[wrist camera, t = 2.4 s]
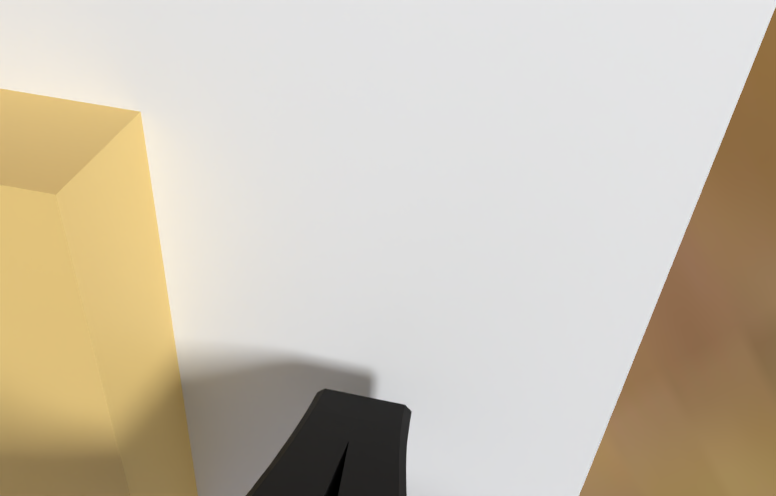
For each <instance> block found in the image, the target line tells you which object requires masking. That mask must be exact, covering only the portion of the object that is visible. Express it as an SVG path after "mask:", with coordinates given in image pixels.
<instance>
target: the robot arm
mask: <svg viewBox="0 0 776 496" xmlns="http://www.w3.org/2000/svg"><path fill="white" fill-rule="evenodd" d="M411 413H412V411H411V410H410V409H409V408H408V407H407V406H406V405H404V404H399V403H394V402H389V401H385V400H380V399H375V398H370V397H365V396H360V395H355V394H350V393H345V392H340V391H335V390H331V389H326V388H325V389H323V390H320V391H318V392H317V393H316V395H315V397H314V399H313V401H312V402H311V404H310V406H309V407H308V409H307V411H306V412H305V414H304V416H303V417H302V419H301V420H300V422H299V423H298V425H297V426H296V428H295V430H294V431H293V433H292V434H291V435H290V437H289V438H288V440H287V441H286V443H285V444H284V446H283V447H282V448H281V450H280V451H279V453H278V454H277V455H276V457H275V458H274V459H273V461H272V462H271V464H270V465H269V466H268V468H267V469H266V470H265V472H264V473H263V474H262V475H261V477H260V478H259V479H258V481H257V482H256V483H255V484H254V486H253V487H252V488H251V490H250V491H249V492H248V493H247V495H246V496H407V490H406V454H407V440H408V433H409V426H410V419H411Z"/></svg>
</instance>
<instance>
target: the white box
mask: <svg viewBox="0 0 776 496" xmlns="http://www.w3.org/2000/svg"><path fill="white" fill-rule="evenodd" d="M775 7H776V0H0V89H7V90H13V91H19V92H25V93H31V94H37V95H43V96H49V97H55V98H61V99H67V100H73V101H79V102H85V103H91V104H97V105H104V106H110V107H116V108H122V109H128V110H134V111H140V112H141V117H142V124H143V130H144V137H145V144H146V151H147V157H148V164H149V171H150V177H151V184H152V191H153V198H154V204H155V211H156V218H157V224H158V231H159V238H160V244H161V251H162V258H163V265H164V271H165V278H166V285H167V291H168V298H169V305H170V311H171V318H172V325H173V332H174V338H175V345H176V352H177V358H178V365H179V372H180V378H181V385H182V392H183V399H184V405H185V412H186V419H187V425H188V432H189V439H190V445H191V452H192V459H193V466H194V472H195V479H196V486H197V492H198V496H246V495H247V493H248V492H249V491H250V490H251V488H252V487H253V486H254V484H255V483H256V482H257V481H258V479H259V478H260V477H261V475H262V474H263V473H264V472H265V470H266V469H267V468H268V466H269V465H270V464H271V462H272V461H273V459H274V458H275V457H276V455H277V454H278V453H279V451H280V450H281V448H282V447H283V446H284V444H285V443H286V441H287V440H288V438H289V437H290V435H291V434H292V433H293V431H294V430H295V428H296V426H297V425H298V423H299V422H300V420H301V419H302V417H303V416H304V414H305V412H306V411H307V409H308V407H309V406H310V404H311V402H312V401H313V399H314V397H315V395H316V393H317V392H318V391H320V390H323V389H325V388H326V389H331V390H335V391H340V392H345V393H350V394H355V395H360V396H365V397H370V398H375V399H380V400H385V401H389V402H394V403H399V404H404V405H406V406H407V407H408V408H409V409H410V410H411V411H412V413H411V419H410V426H409V433H408V440H407V454H406V490H407V496H579V494H580V492H581V489H582V487H583V484H584V482H585V479H586V477H587V474H588V472H589V469H590V467H591V464H592V462H593V459H594V457H595V454H596V452H597V449H598V447H599V444H600V442H601V439H602V437H603V435H604V432H605V430H606V427H607V425H608V422H609V420H610V417H611V415H612V412H613V410H614V407H615V405H616V402H617V400H618V397H619V395H620V392H621V390H622V387H623V385H624V382H625V380H626V377H627V375H628V372H629V370H630V367H631V365H632V362H633V360H634V357H635V355H636V352H637V350H638V348H639V345H640V343H641V340H642V338H643V335H644V333H645V330H646V328H647V325H648V323H649V320H650V318H651V315H652V313H653V310H654V308H655V305H656V303H657V300H658V298H659V295H660V293H661V290H662V288H663V285H664V283H665V280H666V278H667V275H668V273H669V270H670V268H671V266H672V263H673V261H674V258H675V256H676V253H677V251H678V248H679V246H680V243H681V241H682V238H683V236H684V233H685V231H686V228H687V226H688V223H689V221H690V218H691V216H692V213H693V211H694V208H695V206H696V203H697V201H698V198H699V196H700V193H701V191H702V188H703V186H704V183H705V181H706V179H707V176H708V174H709V171H710V169H711V166H712V164H713V161H714V159H715V156H716V154H717V151H718V149H719V146H720V144H721V141H722V139H723V136H724V134H725V131H726V129H727V126H728V124H729V121H730V119H731V116H732V114H733V111H734V109H735V106H736V104H737V101H738V99H739V97H740V94H741V92H742V89H743V87H744V84H745V82H746V79H747V77H748V74H749V72H750V69H751V67H752V64H753V62H754V59H755V57H756V54H757V52H758V49H759V47H760V44H761V42H762V39H763V37H764V34H765V32H766V29H767V27H768V24H769V22H770V19H771V17H772V14H773V12H774V10H775Z"/></svg>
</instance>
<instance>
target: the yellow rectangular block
mask: <svg viewBox="0 0 776 496" xmlns="http://www.w3.org/2000/svg"><path fill="white" fill-rule="evenodd" d="M0 496H198V492H197V486H196V479H195V472H194V466H193V459H192V452H191V445H190V439H189V432H188V425H187V419H186V412H185V405H184V399H183V392H182V385H181V378H180V372H179V365H178V358H177V352H176V345H175V338H174V332H173V325H172V318H171V311H170V305H169V298H168V291H167V285H166V278H165V271H164V265H163V258H162V251H161V244H160V238H159V231H158V224H157V218H156V211H155V204H154V198H153V191H152V184H151V177H150V171H149V164H148V157H147V151H146V144H145V137H144V130H143V124H142V117H141V112H140V111H134V110H128V109H122V108H116V107H110V106H104V105H97V104H91V103H85V102H79V101H73V100H67V99H61V98H55V97H49V96H43V95H37V94H31V93H25V92H19V91H13V90H7V89H0Z"/></svg>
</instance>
